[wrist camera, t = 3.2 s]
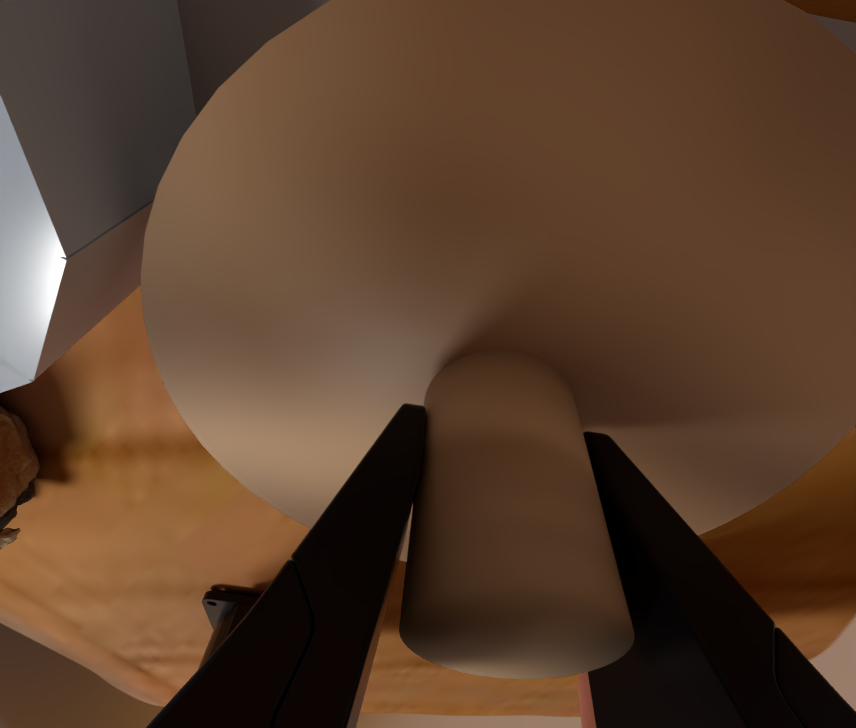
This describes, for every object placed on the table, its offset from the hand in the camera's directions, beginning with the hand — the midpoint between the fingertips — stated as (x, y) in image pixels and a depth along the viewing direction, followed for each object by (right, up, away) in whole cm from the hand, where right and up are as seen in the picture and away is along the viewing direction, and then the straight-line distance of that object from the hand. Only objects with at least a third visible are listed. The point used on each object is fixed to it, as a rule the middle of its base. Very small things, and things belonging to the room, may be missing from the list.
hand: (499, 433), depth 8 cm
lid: (0, +1, +1) cm, 2 cm away
